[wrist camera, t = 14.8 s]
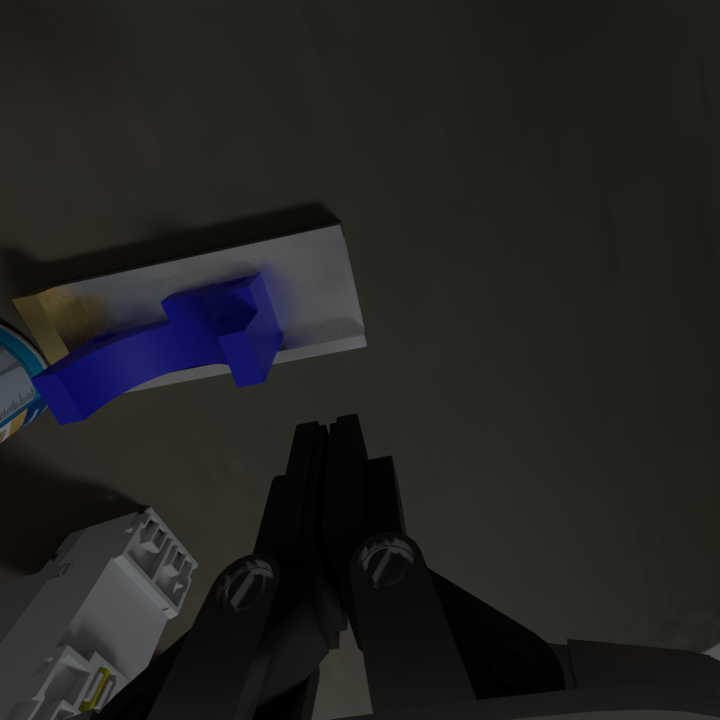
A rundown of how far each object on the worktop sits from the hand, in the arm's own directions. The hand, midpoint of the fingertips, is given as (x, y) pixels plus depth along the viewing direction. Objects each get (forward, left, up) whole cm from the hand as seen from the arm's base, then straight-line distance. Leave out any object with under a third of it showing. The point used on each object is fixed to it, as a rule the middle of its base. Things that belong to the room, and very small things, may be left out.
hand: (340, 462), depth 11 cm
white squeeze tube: (+1, +9, -16) cm, 19 cm away
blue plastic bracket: (0, +11, -16) cm, 20 cm away
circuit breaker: (-19, +27, -17) cm, 37 cm away
